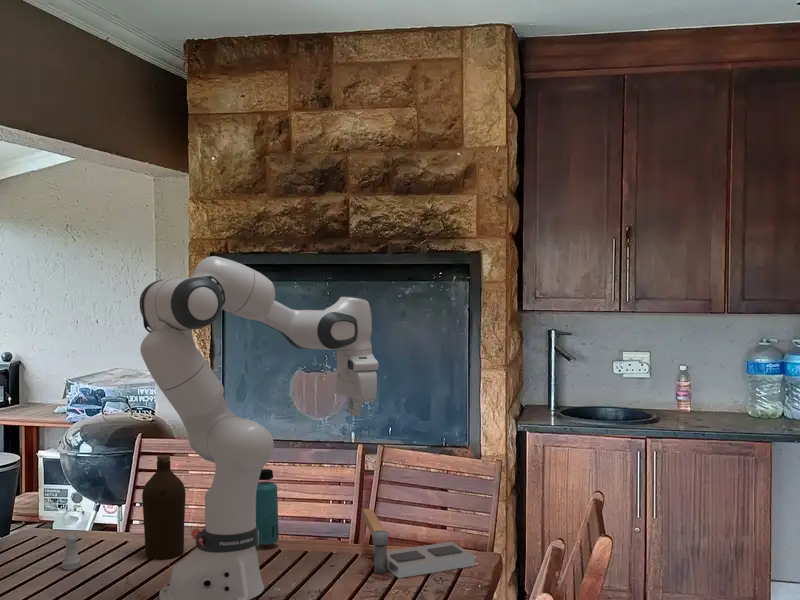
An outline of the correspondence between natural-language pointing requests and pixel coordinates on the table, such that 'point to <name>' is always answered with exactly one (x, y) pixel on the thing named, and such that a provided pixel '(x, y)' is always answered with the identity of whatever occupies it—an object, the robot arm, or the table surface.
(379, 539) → the swing bar
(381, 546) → the block
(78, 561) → the rook chess piece
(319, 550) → the table surface
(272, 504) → the beverage bottle
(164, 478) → the olive oil
